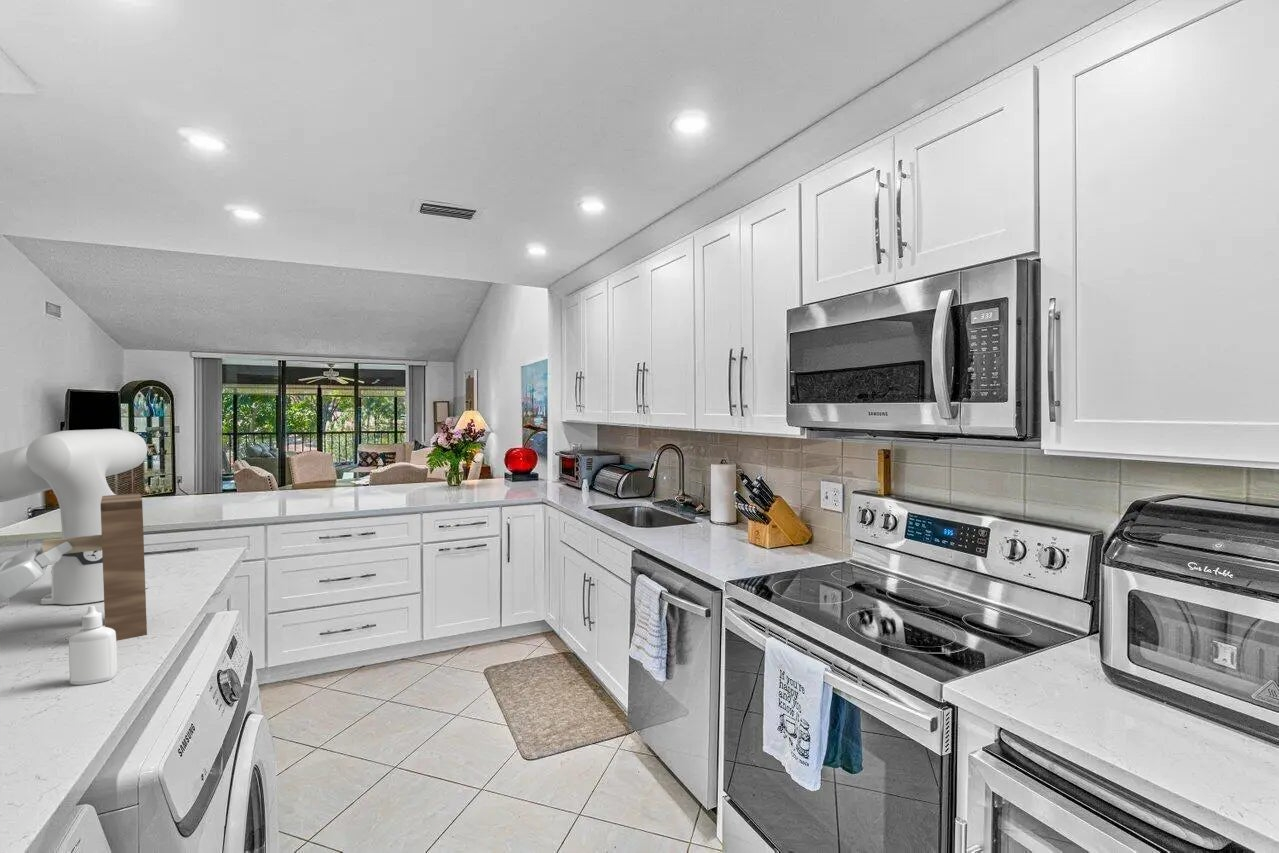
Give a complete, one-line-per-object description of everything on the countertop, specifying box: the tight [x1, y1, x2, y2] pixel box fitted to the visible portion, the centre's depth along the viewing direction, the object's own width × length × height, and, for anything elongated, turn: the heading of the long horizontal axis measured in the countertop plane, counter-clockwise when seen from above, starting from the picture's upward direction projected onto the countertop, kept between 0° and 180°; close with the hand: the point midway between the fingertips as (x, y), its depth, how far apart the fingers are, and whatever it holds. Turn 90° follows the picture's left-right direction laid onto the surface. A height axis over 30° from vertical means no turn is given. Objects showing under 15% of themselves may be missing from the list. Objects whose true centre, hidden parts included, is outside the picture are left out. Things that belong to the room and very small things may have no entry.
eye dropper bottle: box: [68, 605, 118, 686], centre depth 98 cm, size 4×6×12 cm
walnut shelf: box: [101, 492, 148, 641], centre depth 121 cm, size 14×6×26 cm, turn 40°
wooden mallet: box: [42, 535, 102, 554], centre depth 118 cm, size 8×14×4 cm, turn 130°
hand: (71, 542), depth 116 cm, fingers closed on wooden mallet, 3 cm apart
